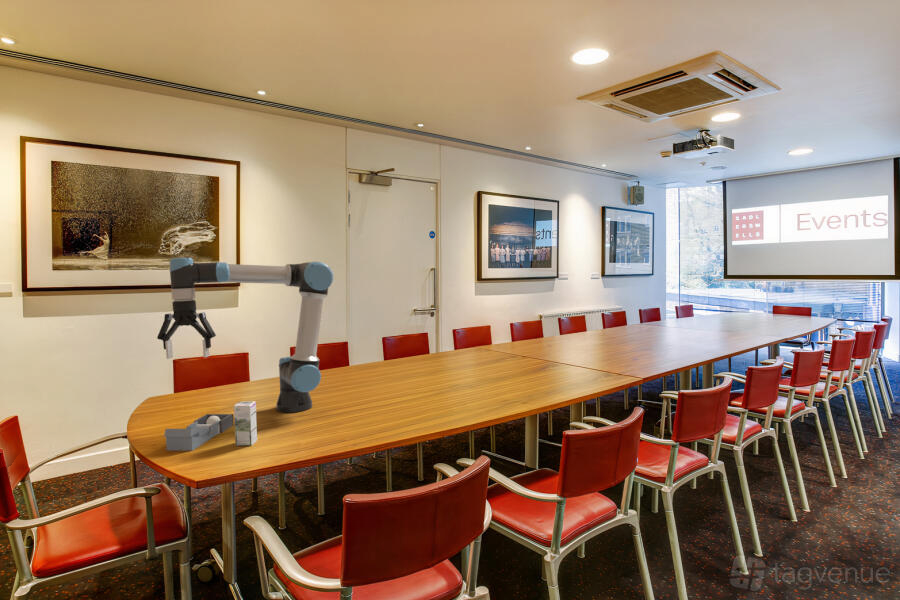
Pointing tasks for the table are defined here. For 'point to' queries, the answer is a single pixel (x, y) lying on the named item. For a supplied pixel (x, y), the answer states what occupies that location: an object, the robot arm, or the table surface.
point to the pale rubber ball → (212, 420)
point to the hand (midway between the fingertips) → (188, 357)
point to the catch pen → (224, 422)
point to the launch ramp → (190, 436)
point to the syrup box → (245, 423)
